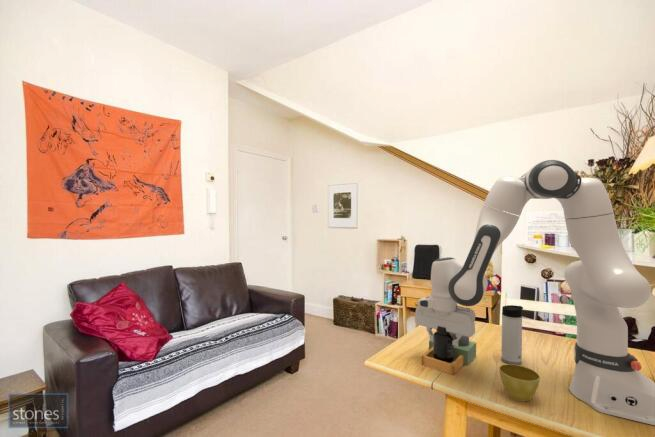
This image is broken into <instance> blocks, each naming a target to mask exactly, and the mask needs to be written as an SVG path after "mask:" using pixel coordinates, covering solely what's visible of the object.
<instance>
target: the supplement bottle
mask: <svg viewBox="0 0 655 437" xmlns="http://www.w3.org/2000/svg"><path fill="white" fill-rule="evenodd" d="M435 330H436V331H434V332H433V334H434V335H433V357H434V359H437V360H441V361H444V362H447V363H450V364H452V363H453V362H454V346H453V345H452V344H453V343H452V341H453V340H454V336H453V335H452V334H451V333H450V332H447V331H446V328H445V327H440V326H438V327H437V329H435Z"/></svg>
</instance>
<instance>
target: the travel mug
mask: <svg viewBox="0 0 655 437" xmlns="http://www.w3.org/2000/svg"><path fill="white" fill-rule="evenodd" d="M523 310H524V307H523V306H522V305H514V304H512V305H509V304H508V305H503V306H502V310H501V312H502V313H501V358H500V360H501V361H502V362H504V364H514V365H520V366H521V365H522V359H523V358H522V355H523V354H522V352H523V349H522V348H523V344H522V343H523Z"/></svg>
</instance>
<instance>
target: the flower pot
mask: <svg viewBox="0 0 655 437" xmlns="http://www.w3.org/2000/svg"><path fill="white" fill-rule="evenodd" d="M498 370H499V375H500V378H501V379H500V380H501V382H502V384H503V386H504V390H505V391H506V392H507V394H508V396H510V398H512V399H513V400H516V401H519V402H528V401H529V400H531V398H532V397H533V396H534V395H535V393H536V392H537V390H538V387H539V384H540V380H541V376H540V374H539V373H538V372H537V371H535V370H534V369H531V368H529V367H526V366H524V365H521V364H520V365H514V364H507V363H504V364H501V365H499V368H498Z"/></svg>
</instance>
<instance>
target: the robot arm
mask: <svg viewBox="0 0 655 437" xmlns="http://www.w3.org/2000/svg"><path fill="white" fill-rule="evenodd" d="M531 199H536V200H537V199H540V200H548V199H549V200H550V199H556V200H557V201H558V202H559V203H560V205H561V208H562V209H563V215H564V216H563V217H564V220H565V226H566V230H567V237H568V241H569V244H570V246H571V247H572V248H573V250H574V251H575V252H576V254H577V256H578V257H579V259H580V260H576V261H573V262H570V263H569V264H568V265H567V266H566V268H565V270H564V274H563V277H564V280H565V282H566V284H568V287H569V290H570V293H571V297H572V302H573V306H574V310H575V316H576V342H575V344H574V347H573V348H574V349H573V350H574V352H573V354H574V358H573V359H574V363H575V365H574V372H573V377H572V379H571V382H570V385H569V388H568V389H569V392H570V393H571V394H572V395H573V396H574V397H576V398H577V399H579V400H581V401H582V402H584V403H586V404H588V405H589V406H590V407H592V408H593V409H594V410H595V411H596V412H599V413H602V414H606V415H610V416H615V417H619V418H623V419H627V420H631V421H635V422H640V423H643V424H647V425H648V424H649V425H652V426H655V382H654V381H653V380H652V379H650V378H649V377H648V376H646V375H645V374H644V373H643V372H641V371H640V370H642V364H641V363H640V362H639V361H638V359H637V357H636V356H635V354H631V353H629V352H628V350H629V349H628V348H629V347H628V346H629V345H628V344H629V342H628V341H629V329H628V328H629V327H628V324H627V322H626V321H625V319H624V318H623V316H622V315H621V312H620V309H619V308H625V309H634V308H638V307H641V306H643V305H644V304H646V303H647V301H648V300H649V299H650V297H651V294H652V293H651V291H652V289H651V285H650V283H649V281H648V280H647V279H646V278H645V277H644V276H643V275H642V274H641V273H640V272H639V271H638V270H637V269H636V267H635V265H634V264H633V262H632V260H631V258H630V257H629V255H628V253H627V251H626V250H625V247H624V245H623V243H622V241H621V237H620V235H619V231H618V226H617V222H616V217H615V213H614V209H613V208H614V207H613V204H612V200H611V198H610V195H609V193H608V190H607V189H606V187H605V184H604V183H603V182H602V181H601V180H599V179H598V178H595V177H588V176H587V177H581V176H580V175H579V174H578V173H577V172H576V171H575V170H573V168H572V167H571V166H569V165H568V164H567V163H565V162H563V161H561V160H558V159H547V160H543V161H541V162H539V163H536V164H535V165H533V166H532V167H531V168H529V170H528V171H527V172H525V173H524V174H523V175H521V176H520V177H515V176H513V175H512V176H511V175H508V176H501V177H499V178H497V180H496V181H495V182H494V183H493V185H492V187H491V188H490V189H489V191H488V194H487V195H486V197H485V200H484V202H483V204H482V207H481V210H480V212H479V216H478V221H477V225H476V230H475V235H474V239H473V242H472V245H471V247H470V250H469V252H468V254H467V256H466V258H465V259H466V260H465V261H464V263H461V262H460V261H459V260H457V259H456V258H455V257H451V256H450V257H442V258H437V259H435V260H433V262H432V264H431V268H430V269H431V270H430V283H431V291H430V296H424V297H422V298H420V299H418V300H417V302H416V303H417V306H416V308H415V313H414V321H415V324H416V325H417V326H421V327H425V328H426V331H427V335H428V336H429V340H433V335H434V332H433V330H436V329H437V327H438V326H440V327H445V328H446V331H447V332H450V333H454V334H456V337H457V339H456V340H455V339H454V340H453V341H452V343H453V344H452V345H453V346H456V347H457V346H458V341H459V340H460V338H461V337H462V335H463V336H467V337H469V338H471V337H473V336H474V335H475V333H476V324H475V321H476V312H475V311H474V310H472V309H471V308H470V307H472V306H475V305H477V304H479V303H480V302H481V301H482V299H483V297H484V294H485V292H486V291H487V289H488V287H489V281H488V278H487V276H486V272H487V269H488V267H489V264H490V262H491V260H492V258H493V255H494V254H495V252H496V250H497V248H498V247H499V246H500V245H501V244H502V243H503V242H504V241H505V240H507V238H508V237H509V236H510V235H511V233H512V232H513V231H514V229H515V227H516V226H517V224H518V221H519V220H520V216H521V214H522V212H523V210H524V208H525V206H526V204H527V203H528V202H529V201H530V200H531ZM459 305H461V306H459Z"/></svg>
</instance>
